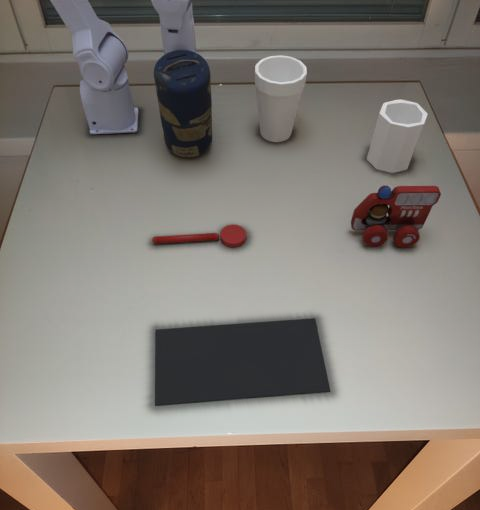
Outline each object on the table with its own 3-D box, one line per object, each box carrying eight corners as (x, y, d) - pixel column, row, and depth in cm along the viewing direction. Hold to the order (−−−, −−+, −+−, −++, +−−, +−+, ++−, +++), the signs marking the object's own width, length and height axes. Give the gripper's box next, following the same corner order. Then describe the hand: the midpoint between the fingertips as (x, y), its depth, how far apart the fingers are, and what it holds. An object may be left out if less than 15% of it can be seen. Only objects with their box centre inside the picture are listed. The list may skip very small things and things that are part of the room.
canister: (214, 159, 92) (213, 81, 75) (165, 163, 91) (153, 84, 75) (210, 122, 96) (208, 39, 79) (163, 125, 95) (150, 41, 78)
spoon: (152, 252, 79) (151, 247, 78) (153, 233, 81) (152, 228, 80) (247, 246, 80) (247, 241, 79) (244, 227, 82) (244, 222, 81)
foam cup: (247, 142, 95) (249, 79, 84) (258, 115, 100) (261, 52, 89) (294, 150, 93) (301, 87, 83) (302, 122, 98) (311, 59, 87)
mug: (414, 173, 90) (432, 127, 82) (369, 172, 90) (382, 126, 82) (403, 133, 97) (418, 87, 88) (361, 133, 97) (372, 87, 88)
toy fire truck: (346, 217, 84) (359, 169, 75) (416, 219, 83) (437, 171, 75) (350, 247, 80) (364, 200, 71) (423, 249, 80) (447, 202, 71)
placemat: (155, 405, 64) (154, 404, 64) (155, 330, 70) (155, 329, 70) (330, 391, 65) (330, 390, 65) (314, 319, 72) (315, 318, 72)
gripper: (204, 70, 79) (209, 140, 91) (200, 27, 87) (205, 96, 99) (162, 72, 79) (172, 142, 90) (162, 28, 87) (171, 98, 98)
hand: (187, 118), depth 95 cm, fingers closed, pressing on canister
